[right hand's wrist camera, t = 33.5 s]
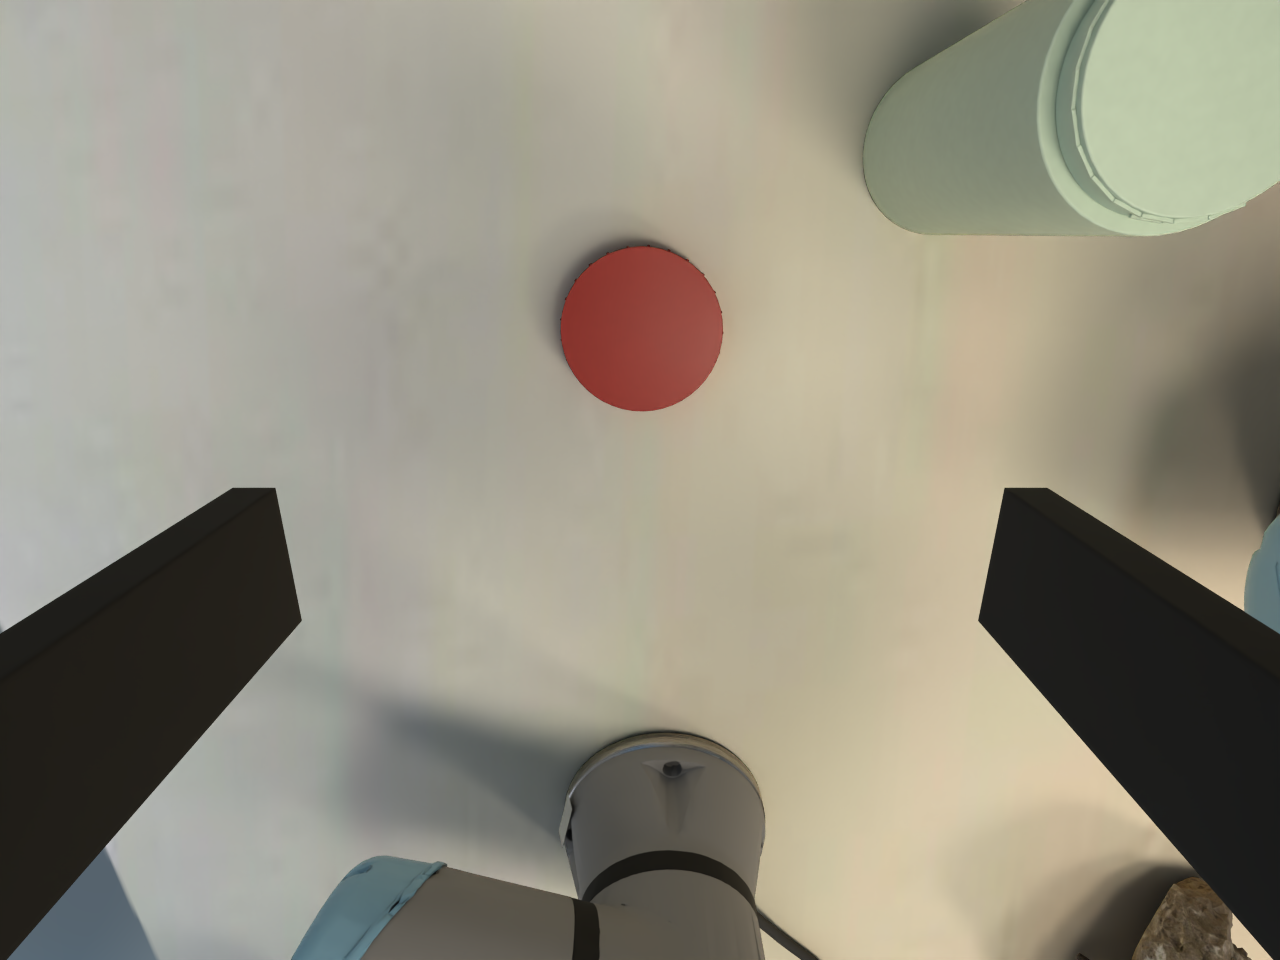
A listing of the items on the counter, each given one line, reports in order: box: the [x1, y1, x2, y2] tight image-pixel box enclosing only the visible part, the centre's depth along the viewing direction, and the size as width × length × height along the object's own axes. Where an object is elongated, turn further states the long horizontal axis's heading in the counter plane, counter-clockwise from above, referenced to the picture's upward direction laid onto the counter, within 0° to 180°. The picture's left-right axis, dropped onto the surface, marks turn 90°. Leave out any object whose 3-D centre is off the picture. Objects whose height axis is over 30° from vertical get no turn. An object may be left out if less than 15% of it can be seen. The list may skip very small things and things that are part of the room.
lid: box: [560, 245, 723, 411], centre depth 39 cm, size 9×9×2 cm
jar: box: [863, 0, 1280, 237], centre depth 28 cm, size 9×9×18 cm
